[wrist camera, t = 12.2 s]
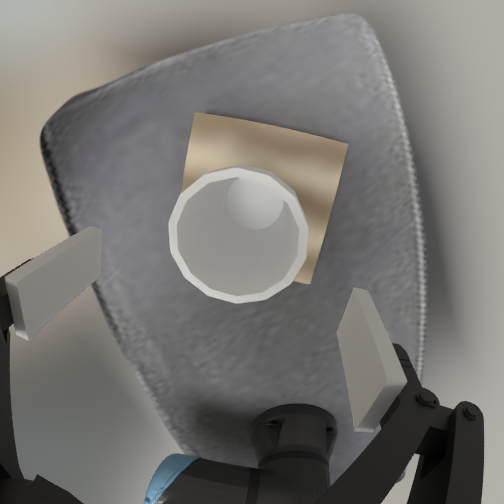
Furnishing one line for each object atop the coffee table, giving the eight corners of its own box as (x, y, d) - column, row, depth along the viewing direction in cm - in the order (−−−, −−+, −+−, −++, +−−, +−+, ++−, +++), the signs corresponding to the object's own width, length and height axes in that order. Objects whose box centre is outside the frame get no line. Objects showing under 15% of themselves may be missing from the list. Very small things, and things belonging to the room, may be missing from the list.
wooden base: (307, 270, 39) (309, 284, 36) (183, 242, 40) (173, 253, 36) (341, 143, 34) (348, 144, 30) (204, 114, 34) (194, 112, 30)
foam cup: (313, 224, 33) (328, 276, 21) (235, 255, 35) (208, 319, 23) (277, 140, 31) (271, 143, 18) (196, 178, 33) (145, 204, 21)
